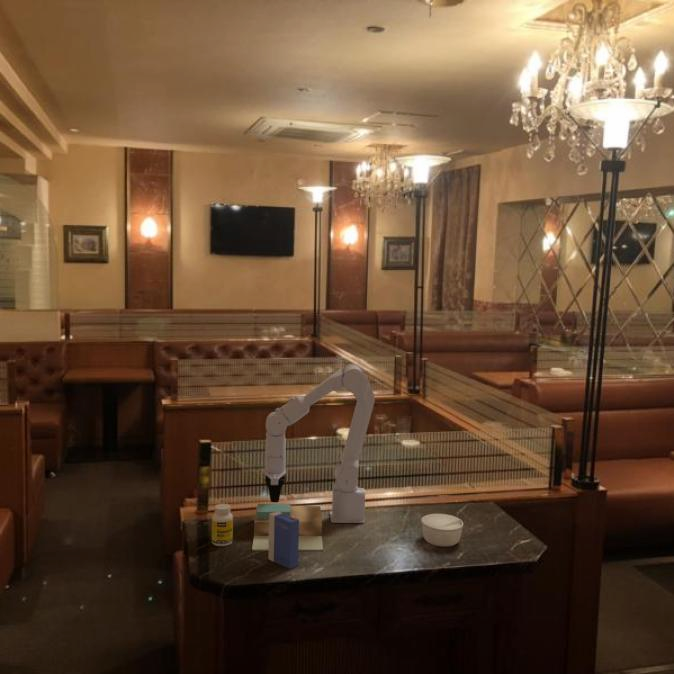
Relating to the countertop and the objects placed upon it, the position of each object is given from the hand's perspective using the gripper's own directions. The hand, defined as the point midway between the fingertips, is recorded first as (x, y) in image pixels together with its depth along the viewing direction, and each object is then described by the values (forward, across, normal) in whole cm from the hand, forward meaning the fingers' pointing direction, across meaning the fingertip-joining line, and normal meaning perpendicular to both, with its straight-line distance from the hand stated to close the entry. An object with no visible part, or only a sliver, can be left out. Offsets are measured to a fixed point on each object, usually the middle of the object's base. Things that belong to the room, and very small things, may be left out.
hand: (274, 501), depth 196 cm
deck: (+5, +7, +4) cm, 9 cm away
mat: (+5, +18, +4) cm, 19 cm away
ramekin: (+5, +15, +45) cm, 48 cm away
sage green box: (+1, +8, 0) cm, 8 cm away
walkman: (+5, +29, +3) cm, 29 cm away
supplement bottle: (+5, +17, -13) cm, 22 cm away
